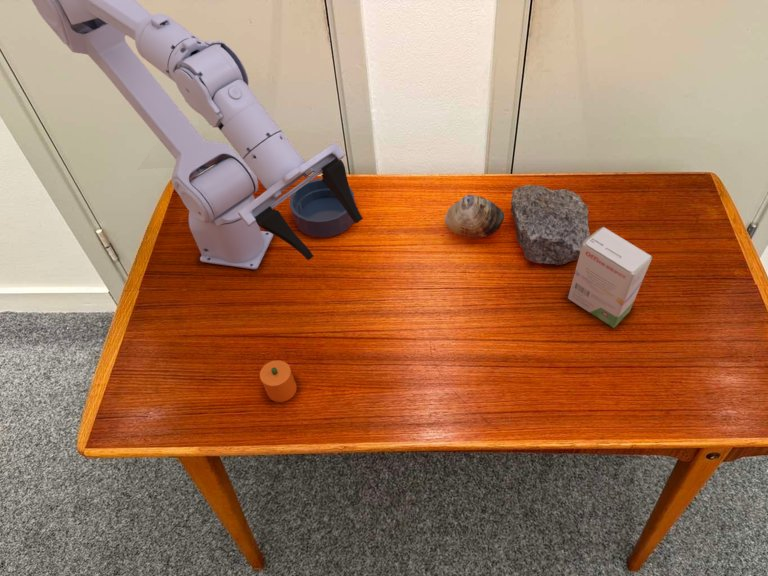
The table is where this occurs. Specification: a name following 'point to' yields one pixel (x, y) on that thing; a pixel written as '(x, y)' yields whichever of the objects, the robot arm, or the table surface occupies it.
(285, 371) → the squash
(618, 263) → the ink box
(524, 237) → the rock
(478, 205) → the seashell
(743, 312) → the table surface
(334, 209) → the bowl
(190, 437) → the table surface
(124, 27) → the robot arm
